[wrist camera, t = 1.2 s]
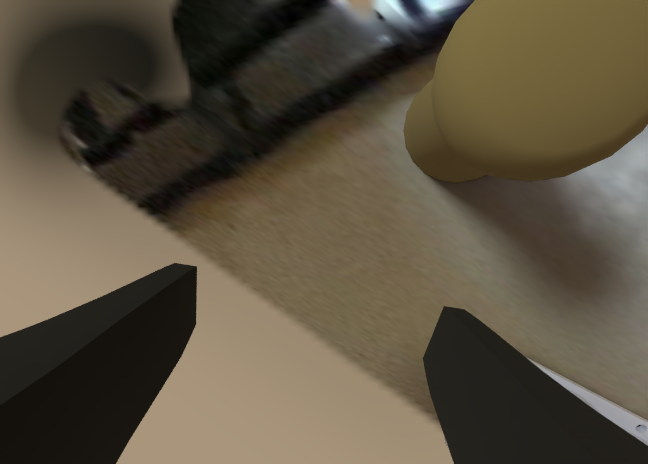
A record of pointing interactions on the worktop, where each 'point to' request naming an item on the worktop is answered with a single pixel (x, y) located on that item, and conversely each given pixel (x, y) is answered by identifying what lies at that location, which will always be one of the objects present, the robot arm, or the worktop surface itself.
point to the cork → (532, 90)
